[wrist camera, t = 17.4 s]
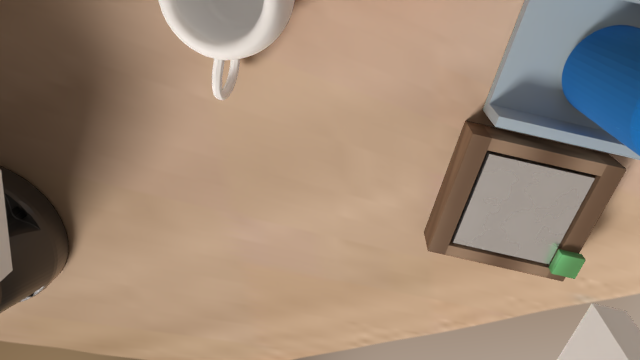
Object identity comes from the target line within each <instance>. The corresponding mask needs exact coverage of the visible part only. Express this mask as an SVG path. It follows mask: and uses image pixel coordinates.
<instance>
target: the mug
mask: <svg viewBox="0 0 640 360" xmlns="http://www.w3.org/2000/svg"><path fill="white" fill-rule="evenodd" d="M158 1H159V4H160V7H161V10H162V13H163V15H164V17H165V19H166V21H167V23H168V25H169V26H170V28H171V29H172V31H173V32H174V33H175V34H176V35H177V36H178V38H179V39H180V40H181V41H183V42H184V43H185V44H186V45H187V46H188V47H190V48H192V49H193V50H195V51H196V52H198V53H200V54H202V55H205V56H207V57H211V58H214V63H213V71H212V89H213V94H214V96H215V97H216V98H217V99H219V100H225V99H227V98H228V96H229V95H230V93H231V92H232V90H233V88H234V86H235V83H236V80H237V76H238V71H239V64H240V58H245V57H249V56H252V55H254V54H257V53H259V52H260V51H262V50H264V49H265V48H267V47H268V46H269V45H270V44H272V43H273V42H274V41H275V40H276V39H277V38H278V37H279V35H280V34H281V33H282V32H283V30H284V28H285V27H286V25H287V23H288V21H289V19H290V16H291V14H292V11H293V6H294V2H295V0H158ZM225 60H231V61H230V69H229V74H228V78H227V81H226V83H225V86H224V88H223V89H222V75H223V68H224V61H225Z"/></svg>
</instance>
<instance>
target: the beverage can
mask: <svg viewBox="0 0 640 360" xmlns="http://www.w3.org/2000/svg"><path fill="white" fill-rule="evenodd" d="M561 80H562V89H563V92H564V95H565V97H566V99H567V100H568V102H569V103H570V104H571V105H572V106H573V107H574V108H576V109H577V110H578V111H580V112H581V113H582V114H584V115H585V116H586V117H588V118H589V119H590V120H592V121H593V122H595V123H596V124H597V125H599V126H600V127H601V128H603V129H604V130H605V131H607V132H608V133H609V134H611V135H612V136H613V137H615V138H616V139H617V140H619V141H620V142H621V143H623V144H624V145H625V146H627V147H628V148H629V149H631V150H632V151H633V152H635V153H636V154H637V155H639V156H640V28H637V27H634V26H629V25H614V26H609V27H605V28H602V29H599V30H597V31H595V32H593V33H592V34H590V35H588V36H587V37H585V38H584V39H583V40H582V41H581V42H579V43H578V44H577V45H576V47H575V48H574V49H573V50H572V52H571V53H570V54H569V56H568V58H567V60H566V62H565V65H564V67H563V71H562V78H561Z"/></svg>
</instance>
